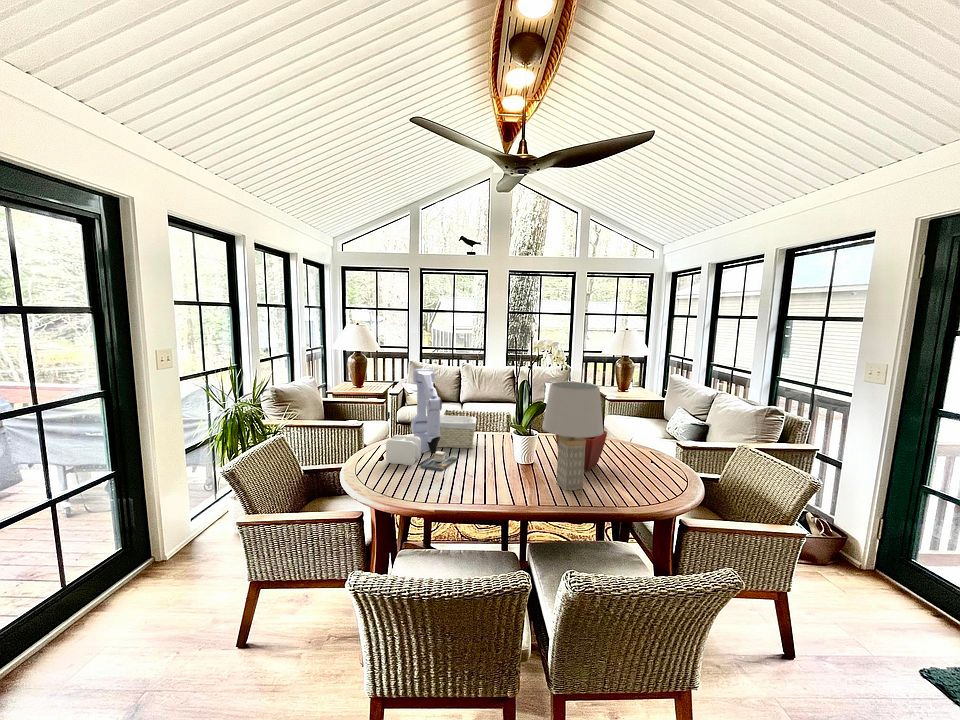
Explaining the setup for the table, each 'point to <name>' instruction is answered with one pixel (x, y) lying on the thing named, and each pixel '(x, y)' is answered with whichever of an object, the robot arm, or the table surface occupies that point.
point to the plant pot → (592, 450)
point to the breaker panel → (439, 463)
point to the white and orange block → (439, 456)
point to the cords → (426, 460)
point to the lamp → (572, 427)
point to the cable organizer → (403, 449)
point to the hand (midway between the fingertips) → (433, 453)
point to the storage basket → (456, 431)
